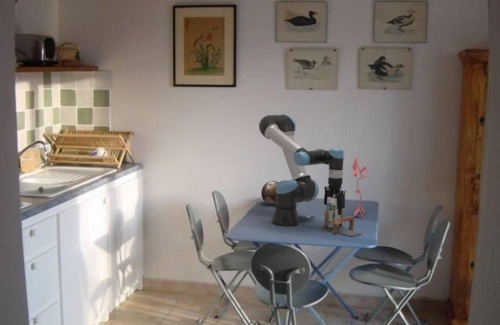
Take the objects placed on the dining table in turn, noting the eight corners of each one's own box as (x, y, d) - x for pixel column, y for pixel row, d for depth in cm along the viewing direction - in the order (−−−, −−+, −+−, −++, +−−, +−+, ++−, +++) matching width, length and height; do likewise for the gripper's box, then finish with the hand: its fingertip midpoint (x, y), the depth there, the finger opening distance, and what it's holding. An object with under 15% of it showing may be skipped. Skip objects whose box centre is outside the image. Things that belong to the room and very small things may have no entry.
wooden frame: (320, 230, 320) (321, 210, 318) (339, 226, 329) (340, 206, 328) (334, 234, 312) (335, 214, 310) (353, 230, 322) (354, 210, 320)
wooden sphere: (258, 206, 372) (259, 182, 370) (263, 201, 387) (264, 178, 384) (282, 208, 369) (283, 184, 367) (286, 202, 383) (287, 179, 381)
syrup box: (325, 223, 323) (326, 196, 321) (333, 221, 326) (334, 195, 324) (333, 225, 318) (334, 198, 316) (341, 223, 322) (342, 197, 320)
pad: (339, 233, 314) (339, 232, 314) (350, 231, 319) (350, 229, 319) (351, 237, 308) (351, 235, 308) (361, 234, 313) (361, 233, 313)
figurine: (367, 210, 366) (369, 154, 361) (362, 220, 342) (364, 160, 337) (342, 209, 371) (344, 153, 365) (336, 218, 346) (337, 159, 341)
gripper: (317, 175, 323) (316, 216, 327) (343, 180, 309) (341, 224, 313) (327, 173, 328) (325, 214, 332) (353, 179, 314) (351, 222, 317)
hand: (333, 219), depth 322 cm, fingers closed on syrup box, 6 cm apart
